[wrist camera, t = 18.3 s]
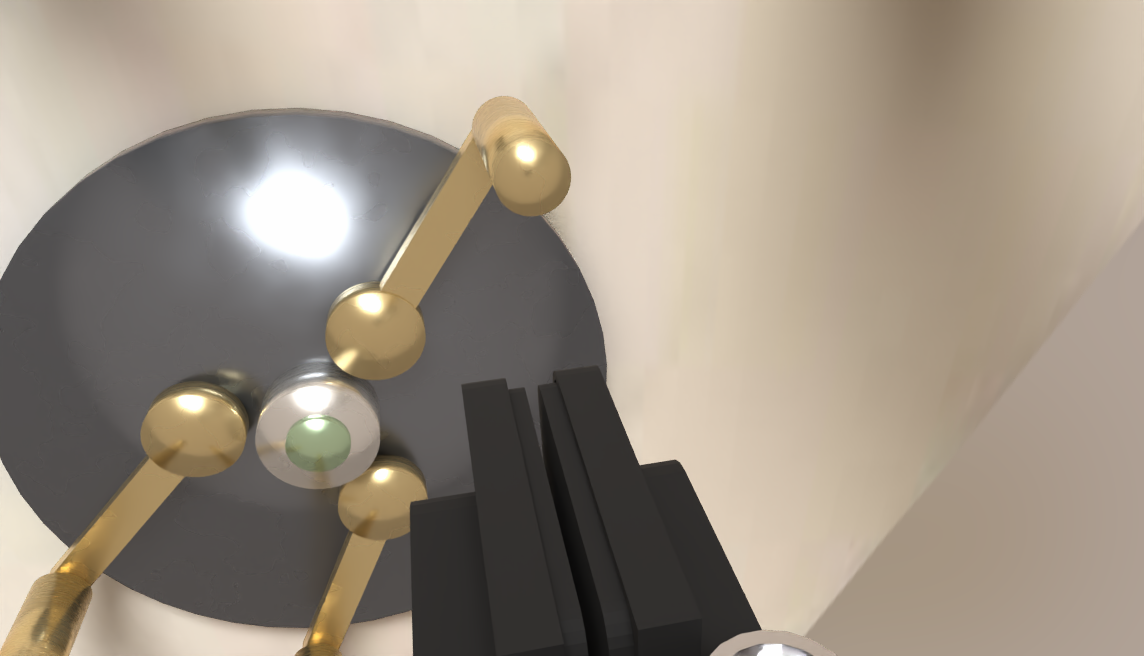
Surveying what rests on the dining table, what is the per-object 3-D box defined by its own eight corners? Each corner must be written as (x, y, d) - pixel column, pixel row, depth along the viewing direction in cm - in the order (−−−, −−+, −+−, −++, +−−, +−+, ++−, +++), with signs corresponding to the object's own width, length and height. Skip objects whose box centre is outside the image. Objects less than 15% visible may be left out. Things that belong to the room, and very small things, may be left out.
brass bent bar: (395, 379, 36) (400, 487, 30) (309, 342, 35) (295, 447, 28) (558, 121, 33) (606, 178, 26) (471, 65, 31) (497, 112, 24)
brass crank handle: (354, 445, 37) (351, 563, 31) (438, 465, 39) (452, 581, 32) (272, 653, 42) (253, 794, 35) (350, 663, 43) (346, 801, 37)
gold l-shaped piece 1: (182, 364, 34) (137, 477, 27) (268, 412, 36) (245, 529, 29) (11, 573, 37) (-69, 721, 30) (98, 608, 38) (42, 755, 32)
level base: (625, 114, 35) (653, 138, 31) (580, 582, 46) (597, 636, 43) (-90, 99, 29) (-151, 126, 26) (65, 636, 41) (37, 704, 37)
